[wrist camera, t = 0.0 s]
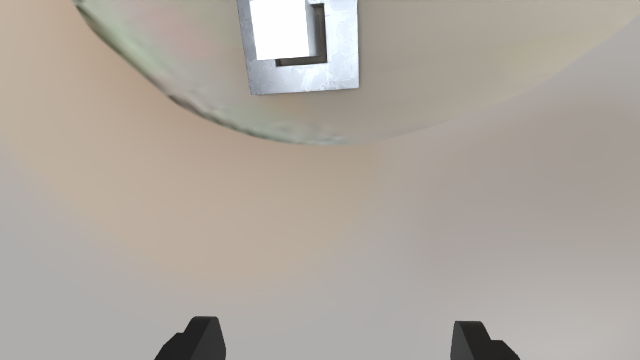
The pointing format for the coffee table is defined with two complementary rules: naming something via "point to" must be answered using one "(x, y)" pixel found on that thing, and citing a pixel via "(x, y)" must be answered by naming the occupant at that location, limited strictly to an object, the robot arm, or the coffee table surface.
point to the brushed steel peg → (285, 29)
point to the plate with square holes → (307, 77)
